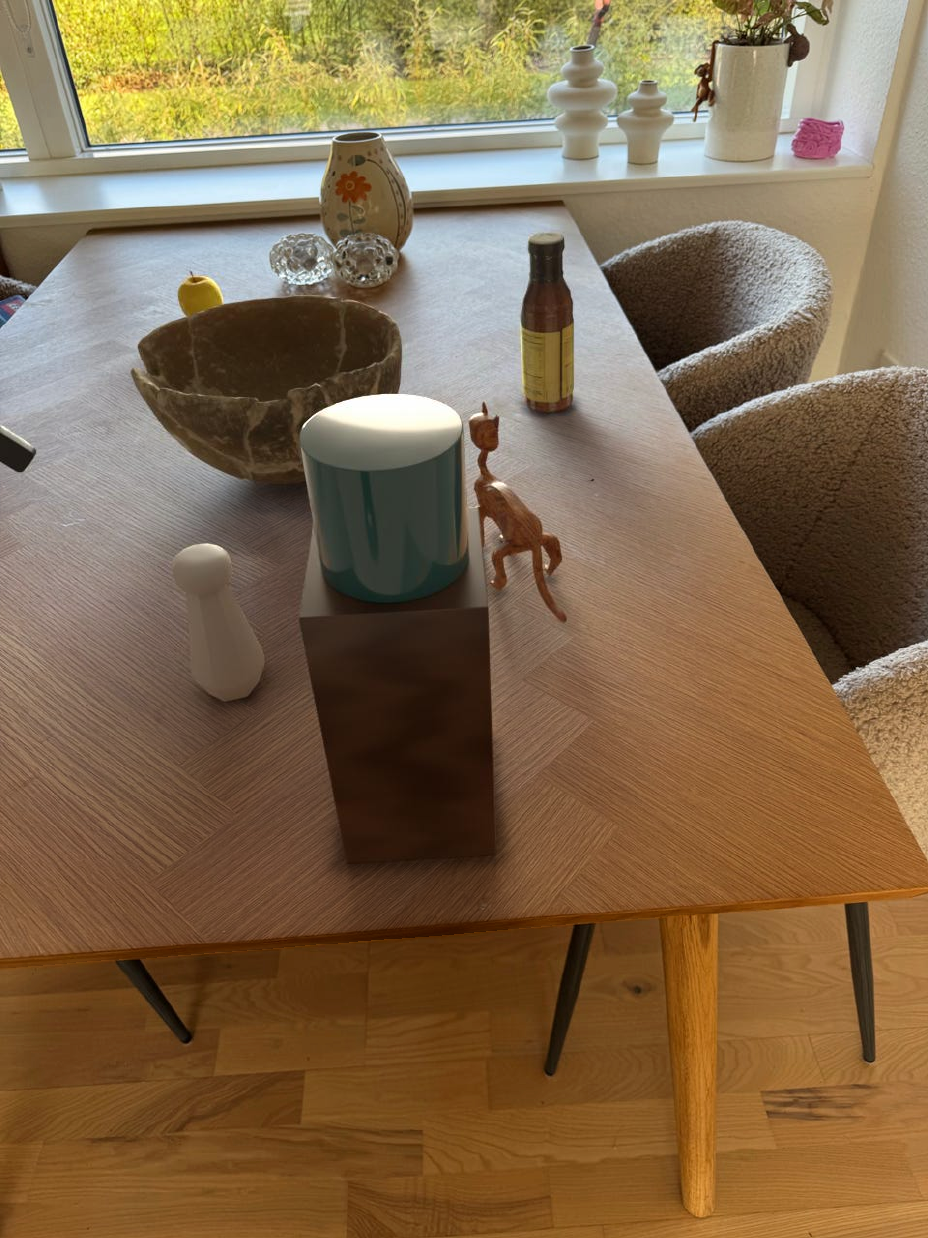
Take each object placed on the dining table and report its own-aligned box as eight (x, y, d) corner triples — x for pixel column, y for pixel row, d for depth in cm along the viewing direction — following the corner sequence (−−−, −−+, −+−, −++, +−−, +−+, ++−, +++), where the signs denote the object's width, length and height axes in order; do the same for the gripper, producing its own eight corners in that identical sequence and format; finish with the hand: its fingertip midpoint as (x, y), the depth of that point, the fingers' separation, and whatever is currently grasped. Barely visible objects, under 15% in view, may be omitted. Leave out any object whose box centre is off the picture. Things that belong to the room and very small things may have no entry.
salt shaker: (212, 658, 78) (176, 530, 70) (277, 662, 78) (248, 533, 69) (187, 706, 74) (145, 575, 66) (256, 711, 73) (222, 579, 65)
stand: (346, 863, 61) (298, 618, 48) (354, 752, 69) (314, 515, 56) (496, 855, 61) (488, 607, 48) (487, 745, 69) (478, 505, 56)
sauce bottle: (558, 388, 116) (562, 223, 104) (582, 408, 112) (590, 238, 99) (511, 399, 115) (510, 233, 102) (534, 420, 110) (535, 248, 98)
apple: (195, 317, 141) (183, 264, 136) (234, 319, 140) (224, 265, 135) (177, 334, 136) (164, 279, 131) (218, 335, 135) (206, 280, 130)
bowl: (149, 550, 92) (106, 412, 82) (174, 426, 112) (142, 305, 103) (425, 518, 94) (414, 380, 85) (400, 403, 115) (389, 282, 105)
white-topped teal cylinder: (472, 598, 49) (466, 465, 44) (314, 608, 49) (290, 475, 44) (464, 491, 57) (458, 369, 52) (329, 498, 57) (310, 377, 52)
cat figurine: (598, 622, 80) (607, 484, 71) (530, 644, 78) (531, 505, 69) (507, 521, 93) (506, 395, 84) (447, 538, 91) (440, 410, 82)
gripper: (-294, 343, 49) (-1, 513, 56) (-164, 257, 60) (67, 409, 68) (-336, 438, 52) (-54, 587, 60) (-205, 340, 64) (19, 476, 71)
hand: (10, 492), depth 64 cm, fingers open, 8 cm apart
